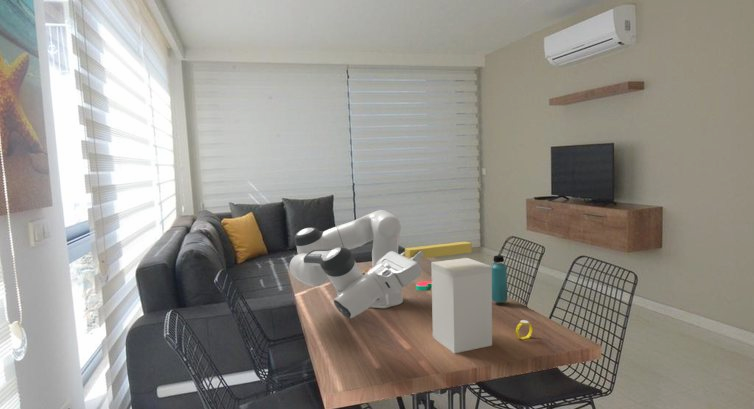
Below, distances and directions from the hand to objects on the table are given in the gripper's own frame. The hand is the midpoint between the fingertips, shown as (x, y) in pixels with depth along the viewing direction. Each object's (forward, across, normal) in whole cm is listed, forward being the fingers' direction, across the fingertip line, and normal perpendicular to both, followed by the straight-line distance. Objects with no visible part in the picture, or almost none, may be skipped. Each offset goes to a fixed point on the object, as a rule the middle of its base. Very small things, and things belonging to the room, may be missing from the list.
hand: (418, 251), depth 139 cm
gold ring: (+14, +6, -45) cm, 48 cm away
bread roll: (-6, -84, -34) cm, 90 cm away
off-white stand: (-3, 0, -35) cm, 35 cm away
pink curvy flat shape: (+17, -62, -48) cm, 80 cm away
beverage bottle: (+27, -27, -53) cm, 65 cm away
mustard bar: (+5, 0, -5) cm, 7 cm away
